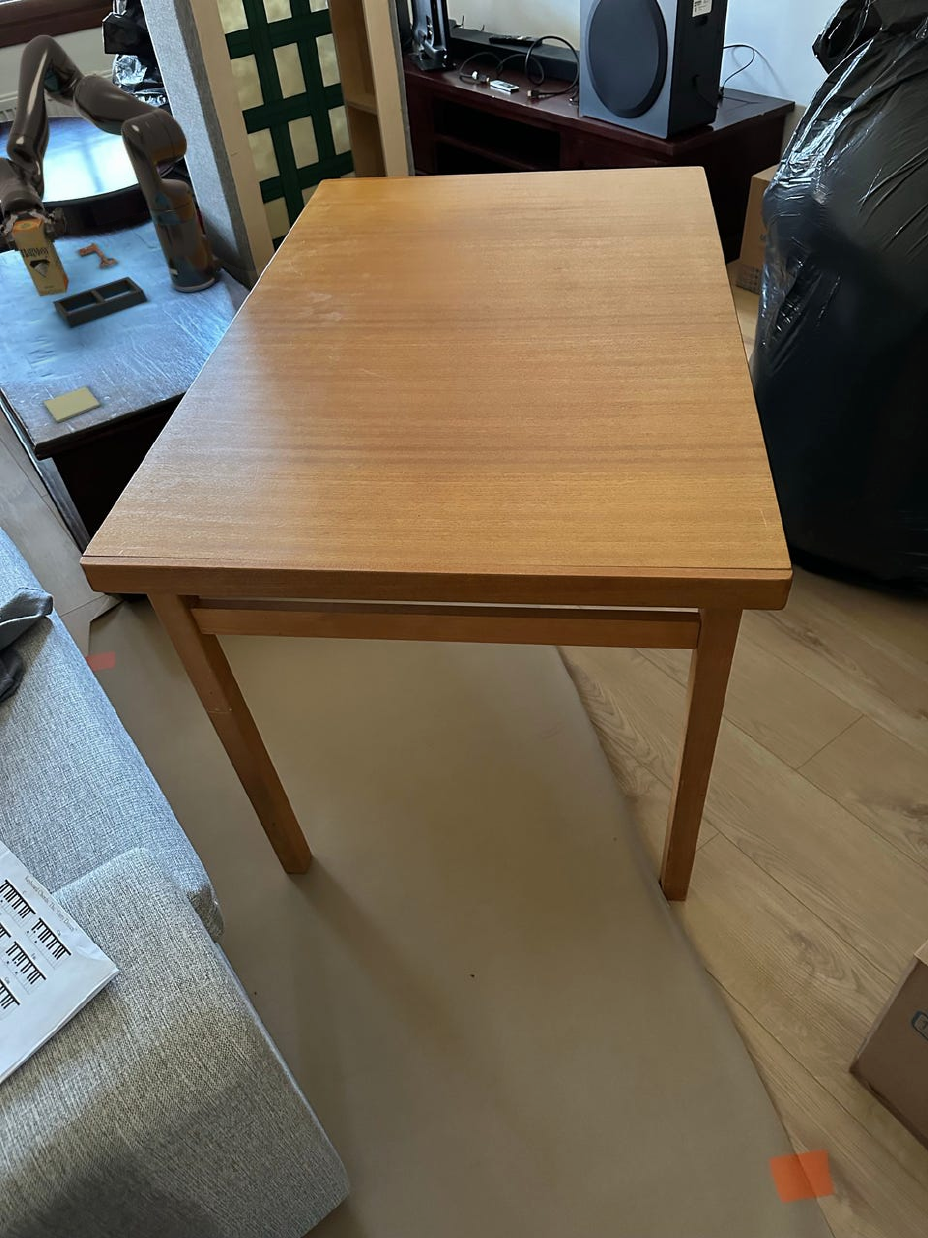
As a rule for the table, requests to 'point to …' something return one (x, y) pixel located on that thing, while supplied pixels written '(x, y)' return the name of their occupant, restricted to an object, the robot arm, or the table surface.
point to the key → (98, 253)
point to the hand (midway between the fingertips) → (32, 241)
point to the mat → (71, 404)
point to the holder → (99, 301)
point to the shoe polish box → (40, 257)
